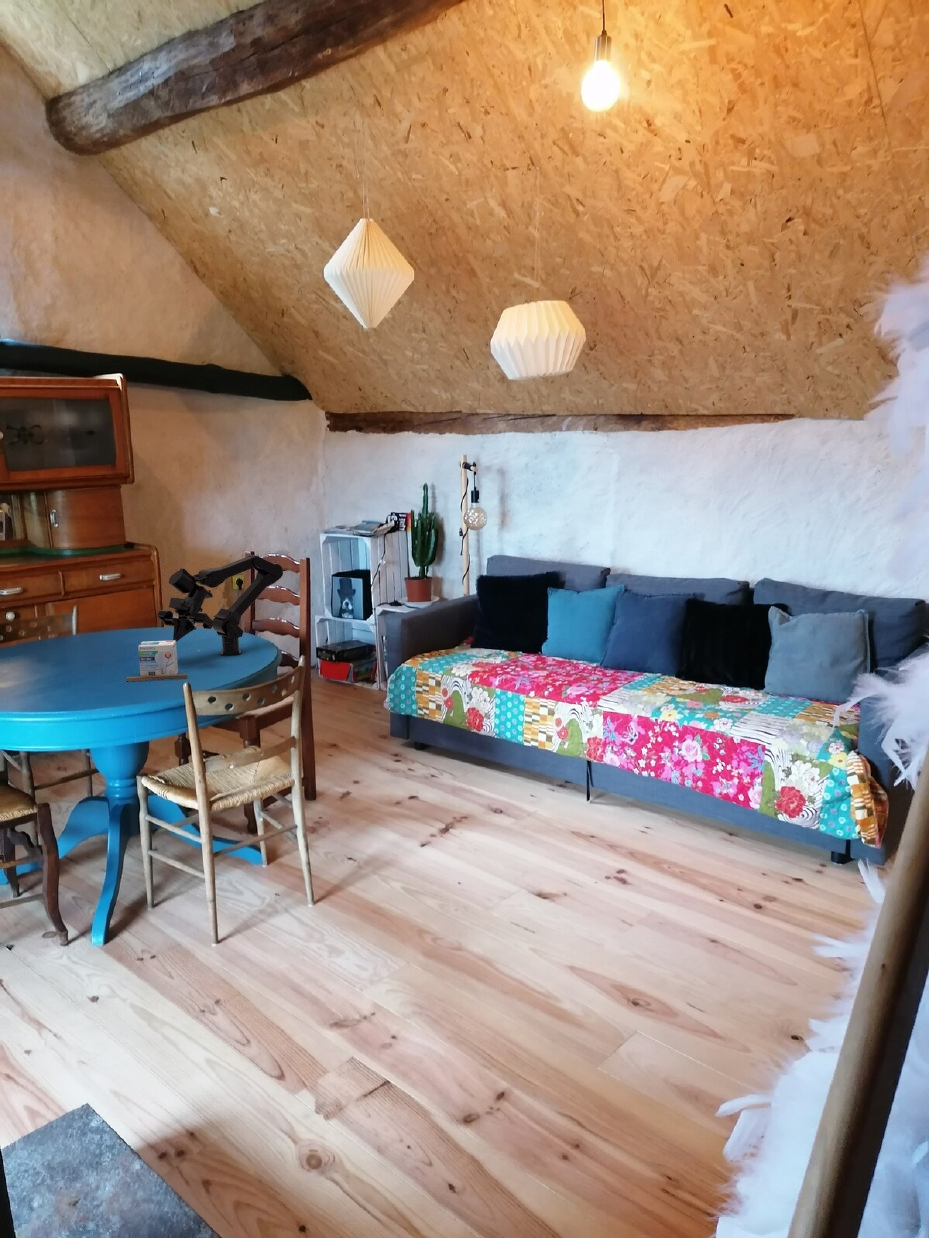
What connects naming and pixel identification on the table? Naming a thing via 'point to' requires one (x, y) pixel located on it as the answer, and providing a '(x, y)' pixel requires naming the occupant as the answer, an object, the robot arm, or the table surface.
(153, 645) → the light bulb box
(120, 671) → the table surface
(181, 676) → the ledge strip
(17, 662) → the table surface
